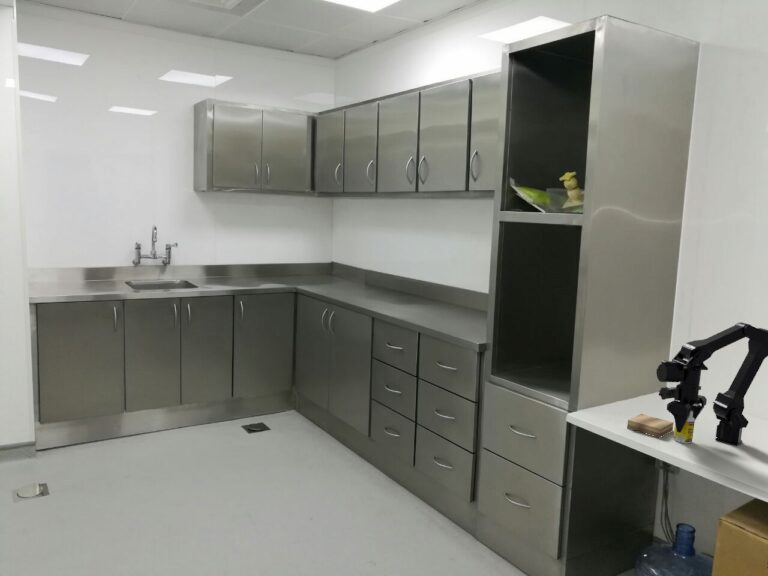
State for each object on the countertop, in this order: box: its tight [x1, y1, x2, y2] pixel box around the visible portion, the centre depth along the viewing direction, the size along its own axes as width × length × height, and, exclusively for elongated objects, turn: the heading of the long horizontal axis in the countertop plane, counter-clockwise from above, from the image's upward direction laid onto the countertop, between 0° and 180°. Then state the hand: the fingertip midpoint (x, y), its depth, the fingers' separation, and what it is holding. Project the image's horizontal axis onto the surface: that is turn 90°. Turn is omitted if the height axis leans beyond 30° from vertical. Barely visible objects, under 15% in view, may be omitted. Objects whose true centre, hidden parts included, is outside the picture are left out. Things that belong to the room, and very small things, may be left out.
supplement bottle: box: [673, 411, 696, 444], centre depth 205 cm, size 6×6×10 cm
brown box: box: [626, 413, 675, 438], centre depth 215 cm, size 11×11×3 cm
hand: (684, 429), depth 205 cm, fingers open, 9 cm apart
